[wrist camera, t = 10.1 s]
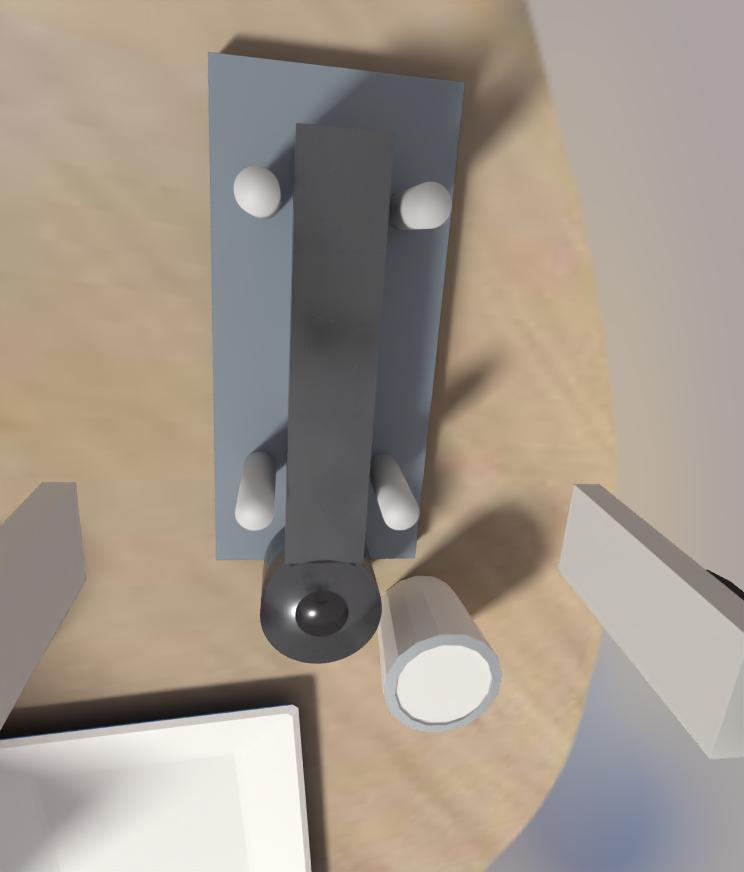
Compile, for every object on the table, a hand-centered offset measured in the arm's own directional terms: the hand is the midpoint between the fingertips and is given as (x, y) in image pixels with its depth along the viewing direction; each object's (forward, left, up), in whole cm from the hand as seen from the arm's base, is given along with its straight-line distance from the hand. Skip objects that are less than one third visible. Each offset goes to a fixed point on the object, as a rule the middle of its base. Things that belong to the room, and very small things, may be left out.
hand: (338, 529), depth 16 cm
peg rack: (-2, +1, -19) cm, 19 cm away
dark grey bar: (+2, +1, -17) cm, 17 cm away
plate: (+34, -10, -19) cm, 40 cm away
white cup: (+16, +8, -19) cm, 26 cm away
